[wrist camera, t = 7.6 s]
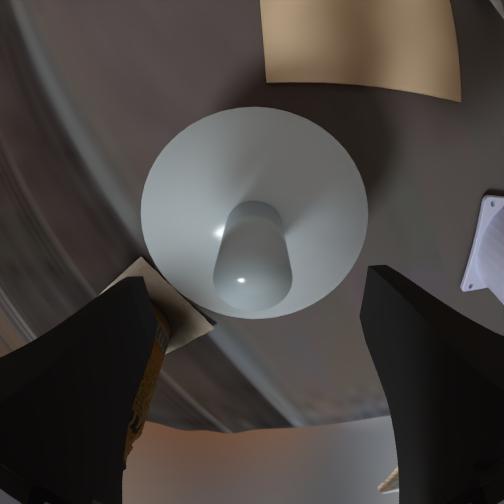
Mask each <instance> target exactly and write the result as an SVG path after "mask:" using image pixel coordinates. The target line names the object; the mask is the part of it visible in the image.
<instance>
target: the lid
mask: <svg viewBox="0 0 504 504" xmlns="http://www.w3.org/2000/svg"><path fill="white" fill-rule="evenodd" d="M141 223H142V230H143V235H144V239H145V242H146V245H147V248H148V251H149V253H150V255H151V257H152V259H153V261H154V263H155V265H156V266H157V268H158V269H159V271H160V272H161V273H162V275H163V276H164V277H165V278H166V279H167V281H168V282H169V283H170V284H171V285H172V286H173V287H174V288H175V289H177V290H178V291H179V292H180V293H181V294H182V295H184V296H185V297H187V298H188V299H190V300H191V301H193V302H195V303H196V304H198V305H200V306H202V307H204V308H206V309H209V310H211V311H214V312H217V313H220V314H224V315H227V316H232V317H238V318H249V319H260V318H271V317H278V316H282V315H286V314H290V313H293V312H296V311H299V310H301V309H304V308H306V307H308V306H310V305H312V304H314V303H315V302H317V301H319V300H320V299H322V298H323V297H325V296H326V295H327V294H328V293H330V292H331V291H332V290H333V289H334V288H336V287H337V285H338V284H339V283H340V282H341V281H342V280H343V279H344V278H345V277H346V275H347V274H348V273H349V271H350V270H351V269H352V267H353V265H354V263H355V262H356V260H357V258H358V256H359V254H360V251H361V249H362V246H363V243H364V239H365V235H366V231H367V223H368V202H367V197H366V191H365V187H364V184H363V181H362V178H361V175H360V173H359V171H358V169H357V167H356V165H355V163H354V161H353V160H352V158H351V157H350V156H349V154H348V153H347V151H346V150H345V149H344V147H343V146H342V145H341V144H340V143H339V142H338V141H337V140H336V139H335V138H334V137H333V136H332V135H330V134H329V133H328V132H327V131H325V130H324V129H323V128H321V127H320V126H318V125H317V124H315V123H313V122H311V121H310V120H308V119H306V118H304V117H301V116H298V115H296V114H293V113H291V112H287V111H283V110H279V109H274V108H265V107H243V108H235V109H230V110H225V111H221V112H218V113H215V114H212V115H210V116H207V117H204V118H203V119H201V120H199V121H197V122H195V123H193V124H191V125H190V126H188V127H187V128H186V129H184V130H183V131H182V132H180V133H179V134H178V135H177V136H176V137H175V138H174V139H173V140H172V141H171V142H170V143H169V144H168V145H167V146H166V147H165V148H164V149H163V151H162V152H161V153H160V155H159V156H158V157H157V159H156V161H155V163H154V164H153V166H152V168H151V170H150V172H149V175H148V177H147V180H146V183H145V186H144V191H143V195H142V202H141Z"/></svg>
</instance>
